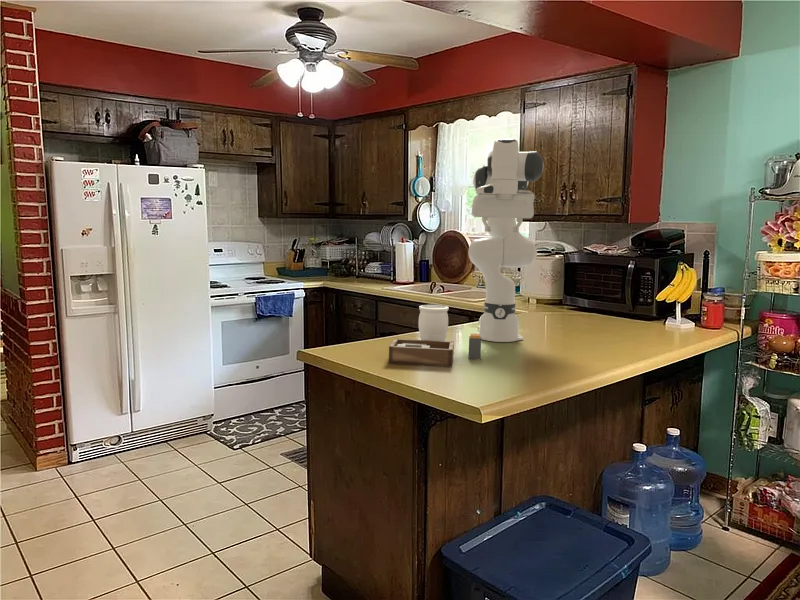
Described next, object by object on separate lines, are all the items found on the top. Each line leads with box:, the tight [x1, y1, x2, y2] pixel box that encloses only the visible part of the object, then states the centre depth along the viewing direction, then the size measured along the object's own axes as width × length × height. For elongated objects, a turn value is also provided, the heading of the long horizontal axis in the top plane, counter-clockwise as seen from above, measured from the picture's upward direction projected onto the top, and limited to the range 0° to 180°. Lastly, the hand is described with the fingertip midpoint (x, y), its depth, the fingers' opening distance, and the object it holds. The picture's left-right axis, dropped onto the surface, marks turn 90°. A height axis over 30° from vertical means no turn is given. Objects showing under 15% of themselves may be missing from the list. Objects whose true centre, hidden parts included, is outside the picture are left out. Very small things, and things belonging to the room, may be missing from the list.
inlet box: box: [388, 338, 455, 368], centre depth 198 cm, size 13×20×6 cm, turn 83°
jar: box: [417, 304, 449, 341], centre depth 216 cm, size 11×10×15 cm
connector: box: [467, 332, 482, 360], centre depth 203 cm, size 4×4×8 cm
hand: (501, 231), depth 200 cm, fingers open, 8 cm apart
